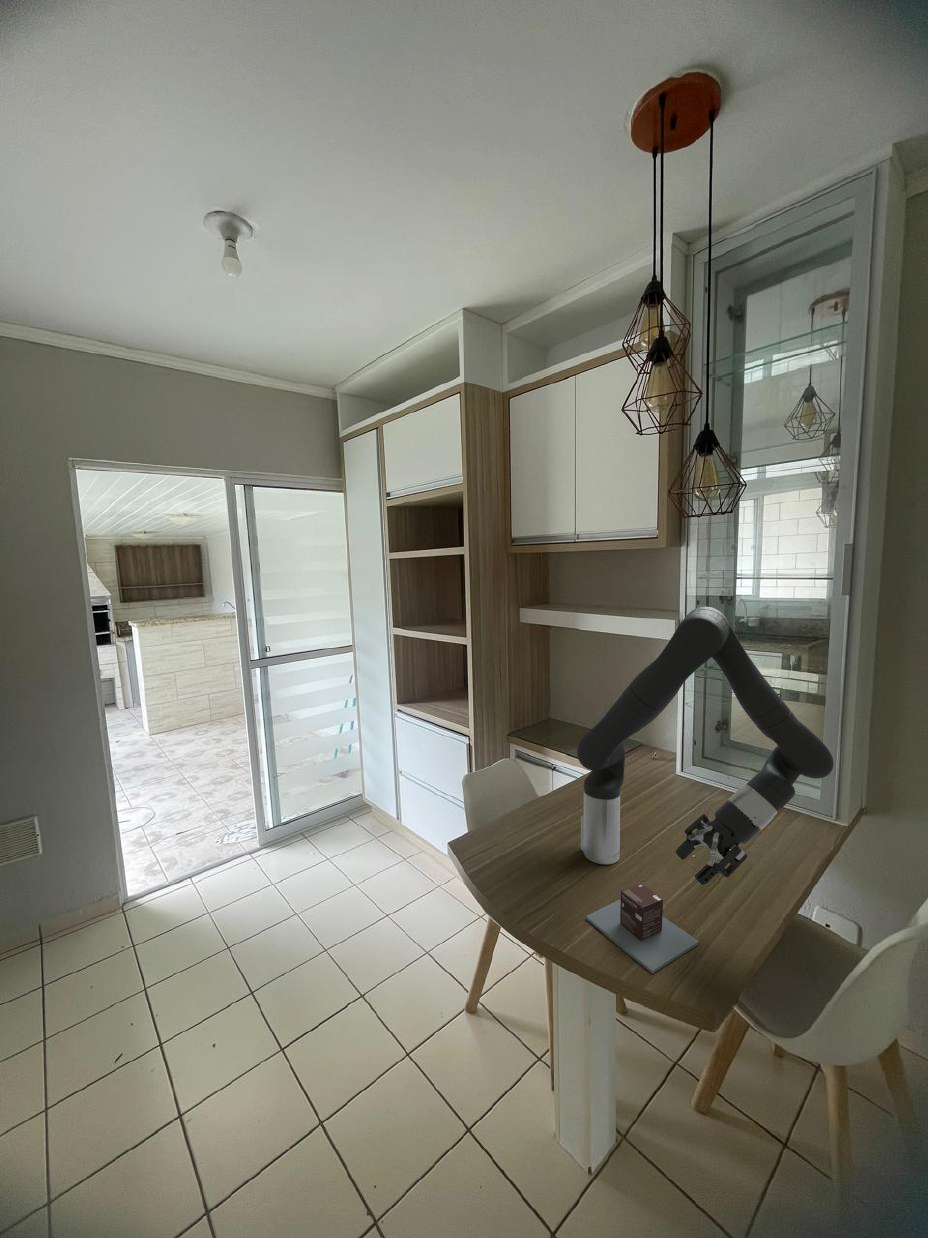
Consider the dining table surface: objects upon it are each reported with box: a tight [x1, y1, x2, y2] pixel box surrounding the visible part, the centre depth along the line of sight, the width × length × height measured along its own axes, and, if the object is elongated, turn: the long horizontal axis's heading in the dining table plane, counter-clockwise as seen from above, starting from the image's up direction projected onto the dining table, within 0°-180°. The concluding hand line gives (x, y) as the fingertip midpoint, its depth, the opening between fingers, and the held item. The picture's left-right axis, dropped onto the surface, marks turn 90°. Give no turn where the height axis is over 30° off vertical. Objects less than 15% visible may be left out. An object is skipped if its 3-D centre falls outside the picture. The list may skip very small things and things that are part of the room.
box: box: [620, 882, 664, 941], centre depth 99 cm, size 6×6×7 cm
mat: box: [585, 898, 700, 974], centre depth 99 cm, size 17×14×1 cm
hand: (688, 868), depth 98 cm, fingers open, 8 cm apart
